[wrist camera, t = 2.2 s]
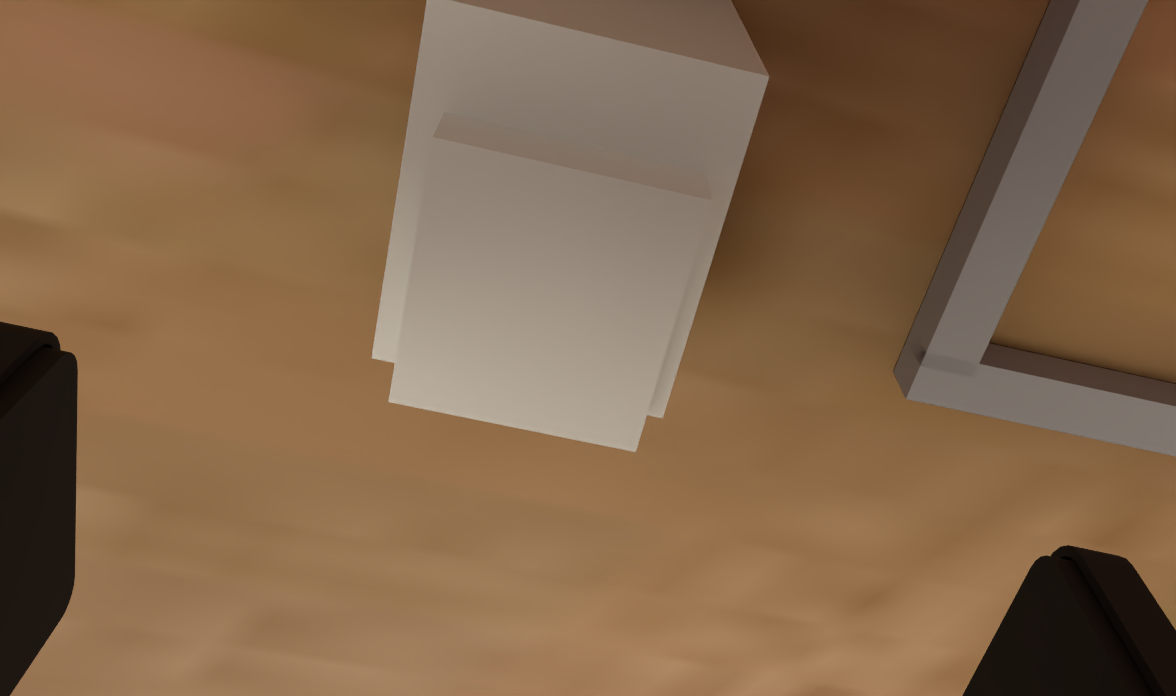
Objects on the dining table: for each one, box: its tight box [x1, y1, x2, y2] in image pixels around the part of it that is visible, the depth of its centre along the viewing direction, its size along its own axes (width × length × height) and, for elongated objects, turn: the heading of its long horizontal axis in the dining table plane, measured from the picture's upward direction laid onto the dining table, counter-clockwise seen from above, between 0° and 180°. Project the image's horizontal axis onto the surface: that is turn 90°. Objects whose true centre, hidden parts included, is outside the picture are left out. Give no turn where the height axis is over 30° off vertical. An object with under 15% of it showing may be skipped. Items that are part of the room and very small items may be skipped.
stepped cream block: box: [372, 0, 769, 452], centre depth 19 cm, size 6×5×7 cm
